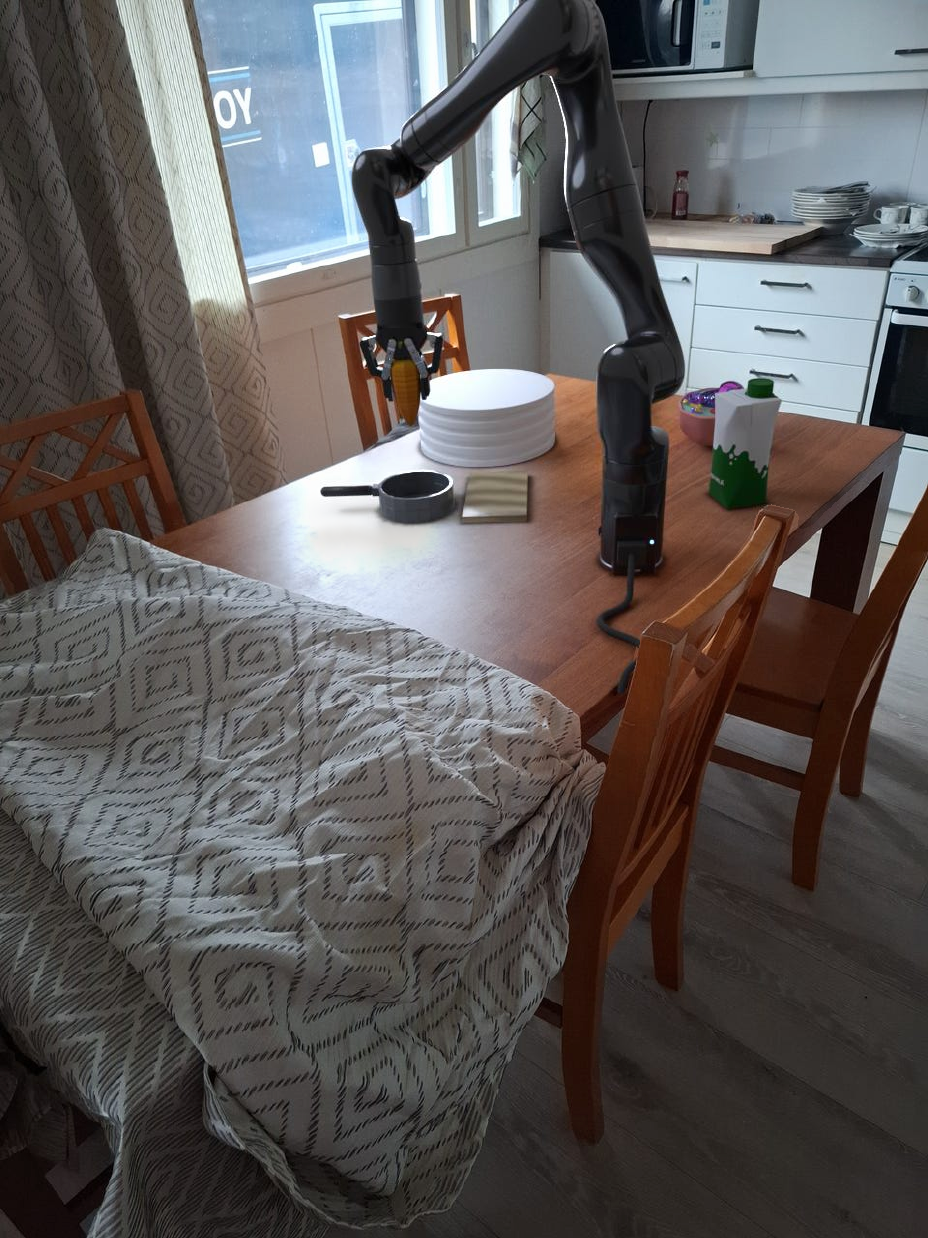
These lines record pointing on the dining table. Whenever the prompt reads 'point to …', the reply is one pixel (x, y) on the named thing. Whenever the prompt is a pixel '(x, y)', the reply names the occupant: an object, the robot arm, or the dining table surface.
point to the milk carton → (743, 443)
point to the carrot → (406, 387)
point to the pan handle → (350, 490)
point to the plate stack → (487, 417)
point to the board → (496, 497)
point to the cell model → (701, 412)
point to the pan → (416, 496)
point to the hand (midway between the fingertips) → (408, 399)
